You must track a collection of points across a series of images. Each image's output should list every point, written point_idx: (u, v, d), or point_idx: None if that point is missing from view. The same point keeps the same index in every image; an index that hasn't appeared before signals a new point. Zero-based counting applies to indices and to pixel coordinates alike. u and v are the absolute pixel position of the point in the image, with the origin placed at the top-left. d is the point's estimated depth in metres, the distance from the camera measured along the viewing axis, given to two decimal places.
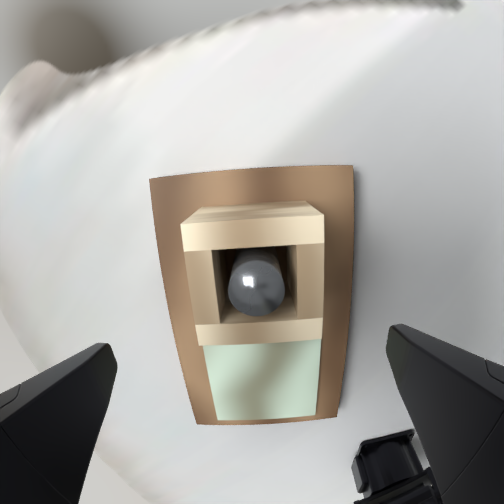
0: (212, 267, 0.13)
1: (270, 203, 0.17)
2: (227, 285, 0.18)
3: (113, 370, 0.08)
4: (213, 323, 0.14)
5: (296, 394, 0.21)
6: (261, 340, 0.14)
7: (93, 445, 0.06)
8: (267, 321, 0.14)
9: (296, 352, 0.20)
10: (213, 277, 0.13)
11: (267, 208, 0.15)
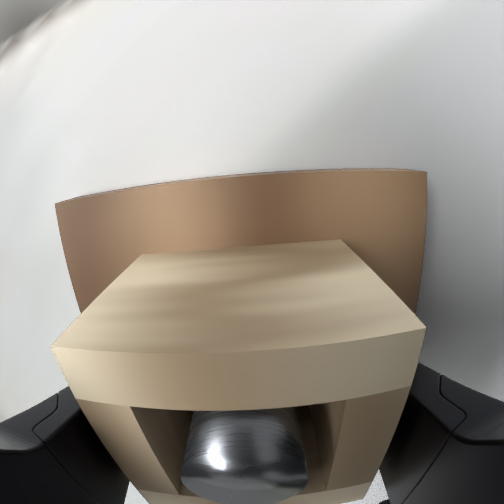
0: (142, 432, 0.05)
1: (274, 249, 0.08)
2: None
3: None
4: (169, 490, 0.05)
5: None
6: None
7: None
8: None
9: None
10: (149, 446, 0.05)
11: (269, 275, 0.06)
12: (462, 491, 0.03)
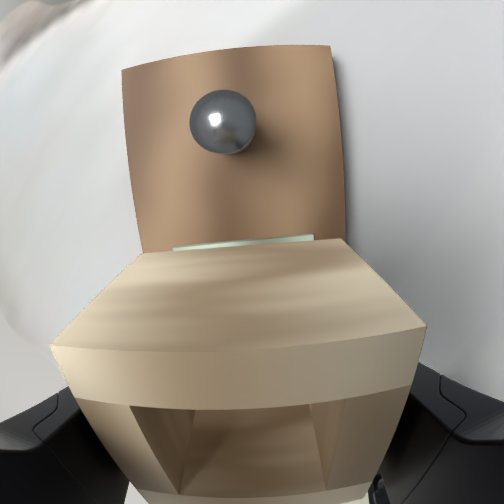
0: (141, 431, 0.05)
1: (274, 248, 0.08)
2: None
3: None
4: (168, 490, 0.05)
5: None
6: None
7: None
8: (269, 495, 0.05)
9: None
10: (148, 446, 0.05)
11: (268, 274, 0.06)
12: (463, 491, 0.03)
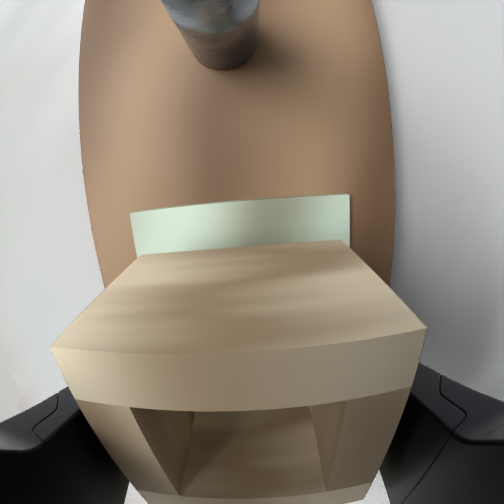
0: (142, 433, 0.05)
1: (274, 249, 0.08)
2: None
3: None
4: (168, 491, 0.05)
5: None
6: None
7: None
8: (269, 496, 0.05)
9: (305, 226, 0.11)
10: (148, 447, 0.05)
11: (269, 275, 0.06)
12: (463, 491, 0.03)
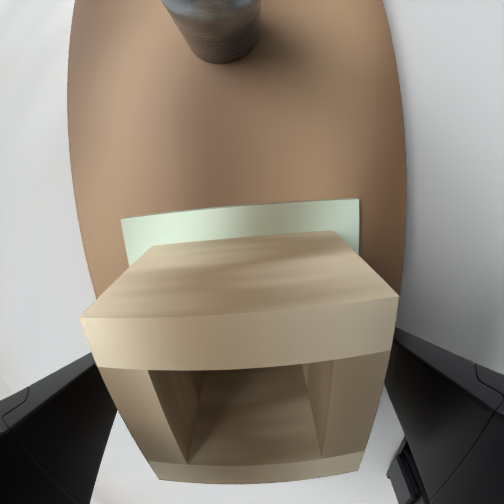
0: (156, 396, 0.06)
1: (272, 238, 0.09)
2: None
3: None
4: (177, 461, 0.07)
5: None
6: (258, 480, 0.07)
7: (103, 447, 0.06)
8: (269, 463, 0.06)
9: None
10: (161, 411, 0.06)
11: (267, 258, 0.07)
12: None
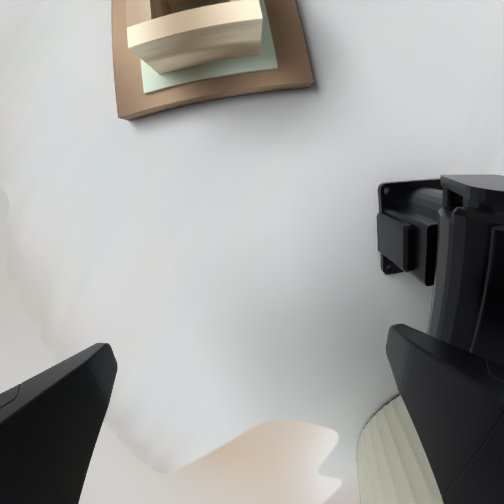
0: None
1: None
2: None
3: (113, 370, 0.08)
4: (145, 22, 0.10)
5: None
6: (194, 25, 0.10)
7: (93, 445, 0.06)
8: (199, 7, 0.10)
9: None
10: None
11: None
12: None
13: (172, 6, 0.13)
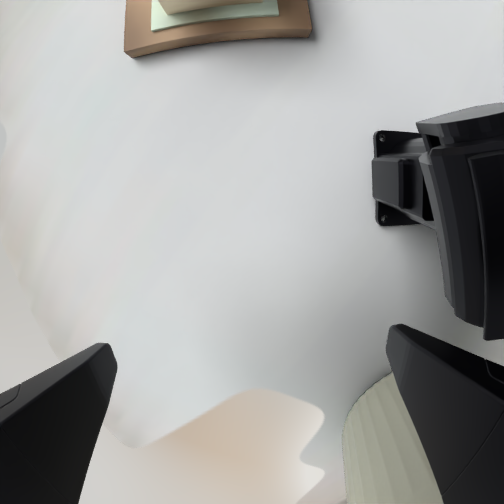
0: None
1: None
2: None
3: (113, 370, 0.08)
4: None
5: None
6: None
7: (93, 445, 0.06)
8: None
9: None
10: None
11: None
12: None
13: None
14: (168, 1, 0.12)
